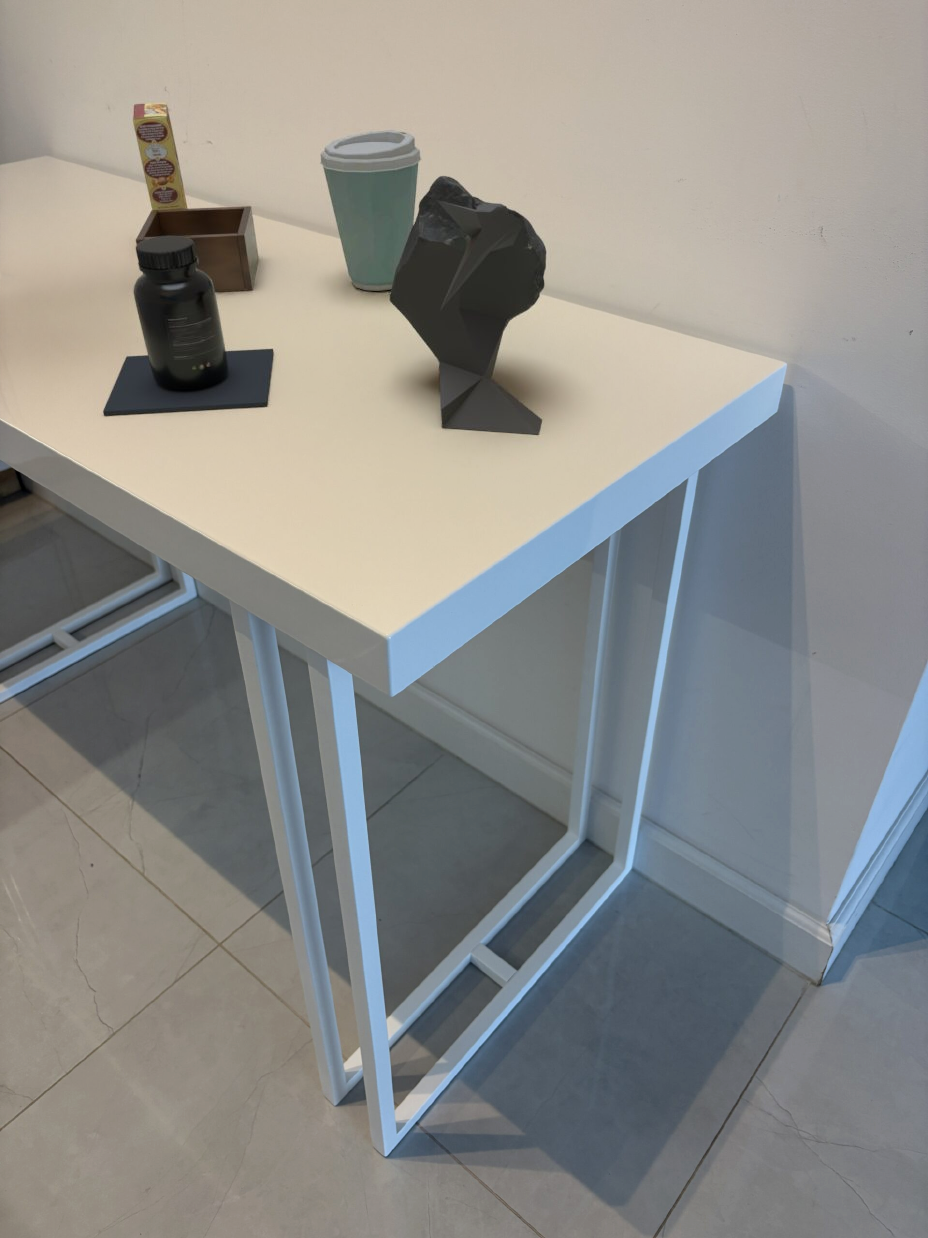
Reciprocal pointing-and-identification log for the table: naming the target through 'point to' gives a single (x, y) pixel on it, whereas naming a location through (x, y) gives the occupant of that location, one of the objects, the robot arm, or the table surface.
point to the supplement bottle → (179, 315)
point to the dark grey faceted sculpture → (469, 299)
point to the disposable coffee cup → (373, 201)
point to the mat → (234, 391)
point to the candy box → (159, 156)
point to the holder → (213, 241)
